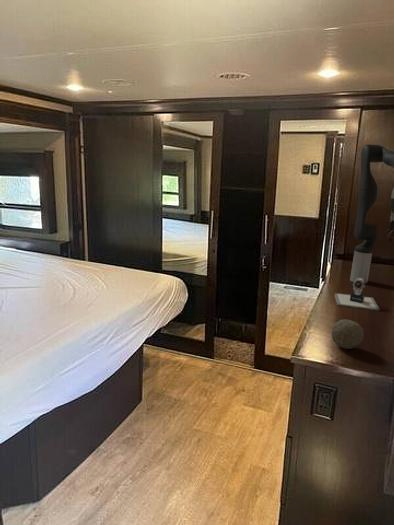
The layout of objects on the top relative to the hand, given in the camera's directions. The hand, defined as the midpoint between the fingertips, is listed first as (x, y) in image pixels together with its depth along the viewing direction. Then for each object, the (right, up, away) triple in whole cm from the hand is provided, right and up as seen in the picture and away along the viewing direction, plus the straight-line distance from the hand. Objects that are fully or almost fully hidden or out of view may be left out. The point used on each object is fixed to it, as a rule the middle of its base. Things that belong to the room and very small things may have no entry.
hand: (393, 231), depth 193 cm
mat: (-20, -34, -5) cm, 40 cm away
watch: (-20, -34, -5) cm, 39 cm away
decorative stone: (-44, -45, -56) cm, 84 cm away
